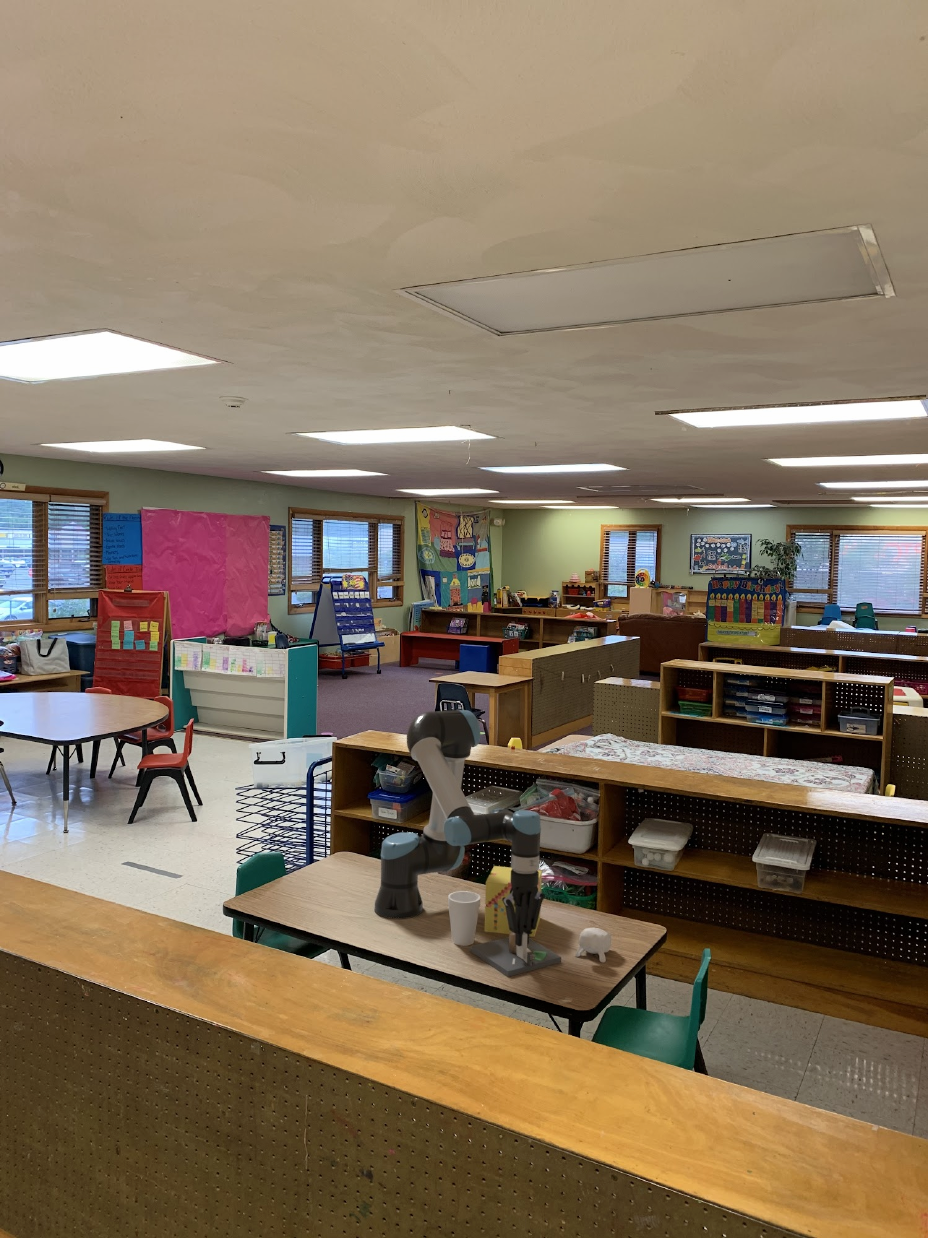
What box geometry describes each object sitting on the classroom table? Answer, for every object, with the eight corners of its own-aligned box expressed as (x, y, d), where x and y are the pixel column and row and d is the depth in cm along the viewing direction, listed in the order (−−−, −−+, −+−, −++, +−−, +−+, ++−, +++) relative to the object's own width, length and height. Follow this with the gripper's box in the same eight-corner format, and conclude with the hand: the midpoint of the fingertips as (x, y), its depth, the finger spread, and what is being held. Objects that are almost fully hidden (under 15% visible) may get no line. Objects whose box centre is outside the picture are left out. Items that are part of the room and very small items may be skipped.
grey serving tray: (470, 951, 242) (470, 945, 241) (522, 938, 251) (522, 933, 251) (507, 977, 226) (508, 970, 226) (561, 962, 236) (561, 956, 236)
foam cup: (459, 950, 242) (460, 905, 241) (440, 939, 249) (441, 895, 249) (485, 943, 248) (487, 898, 247) (466, 932, 255) (468, 889, 255)
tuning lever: (506, 948, 240) (507, 931, 240) (518, 947, 241) (519, 930, 241) (525, 967, 228) (526, 949, 228) (537, 965, 230) (538, 948, 229)
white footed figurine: (583, 956, 247) (568, 956, 235) (587, 926, 250) (572, 923, 237) (612, 963, 244) (598, 962, 231) (616, 931, 246) (602, 929, 233)
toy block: (534, 937, 253) (536, 886, 252) (484, 931, 256) (485, 882, 255) (540, 918, 268) (541, 870, 267) (492, 913, 271) (494, 866, 270)
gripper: (513, 877, 225) (510, 966, 225) (552, 870, 231) (549, 957, 232) (497, 869, 231) (494, 956, 231) (535, 863, 238) (532, 947, 238)
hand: (521, 956), depth 232 cm, fingers closed
